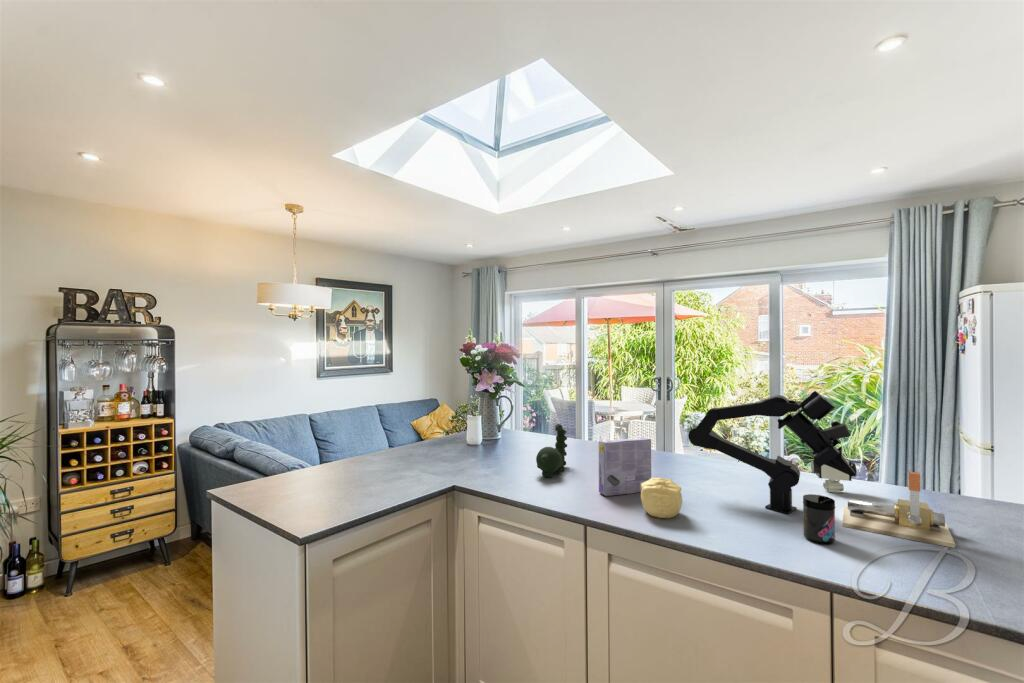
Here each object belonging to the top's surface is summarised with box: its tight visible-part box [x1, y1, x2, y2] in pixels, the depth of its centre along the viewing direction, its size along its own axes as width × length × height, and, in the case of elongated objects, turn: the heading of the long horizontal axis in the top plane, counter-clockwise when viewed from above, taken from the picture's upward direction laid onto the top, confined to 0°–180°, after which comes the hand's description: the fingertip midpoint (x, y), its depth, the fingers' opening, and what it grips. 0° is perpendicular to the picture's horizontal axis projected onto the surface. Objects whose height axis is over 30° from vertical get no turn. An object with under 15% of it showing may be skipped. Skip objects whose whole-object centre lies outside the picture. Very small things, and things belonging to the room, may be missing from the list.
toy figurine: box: [535, 423, 568, 479], centre depth 176 cm, size 9×19×25 cm
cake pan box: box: [598, 437, 652, 497], centre depth 153 cm, size 19×5×18 cm, turn 108°
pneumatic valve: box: [810, 457, 857, 494], centre depth 151 cm, size 6×12×12 cm, turn 68°
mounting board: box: [842, 506, 956, 549], centre depth 122 cm, size 22×15×1 cm
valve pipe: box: [847, 498, 946, 532], centre depth 124 cm, size 20×5×6 cm, turn 52°
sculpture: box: [640, 476, 683, 519], centre depth 133 cm, size 11×12×11 cm
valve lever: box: [907, 470, 922, 526], centre depth 118 cm, size 3×2×14 cm
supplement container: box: [802, 493, 836, 546], centre depth 115 cm, size 7×7×10 cm
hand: (854, 475), depth 125 cm, fingers closed
